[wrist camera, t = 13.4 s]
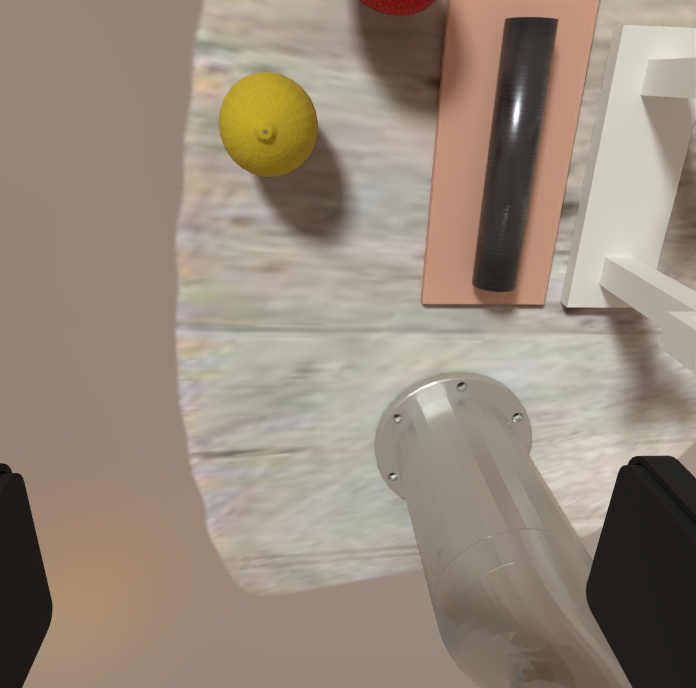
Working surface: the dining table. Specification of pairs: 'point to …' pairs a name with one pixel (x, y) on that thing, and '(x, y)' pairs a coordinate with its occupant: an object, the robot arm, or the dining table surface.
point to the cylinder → (513, 149)
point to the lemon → (268, 124)
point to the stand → (637, 184)
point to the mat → (473, 143)
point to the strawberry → (398, 6)
